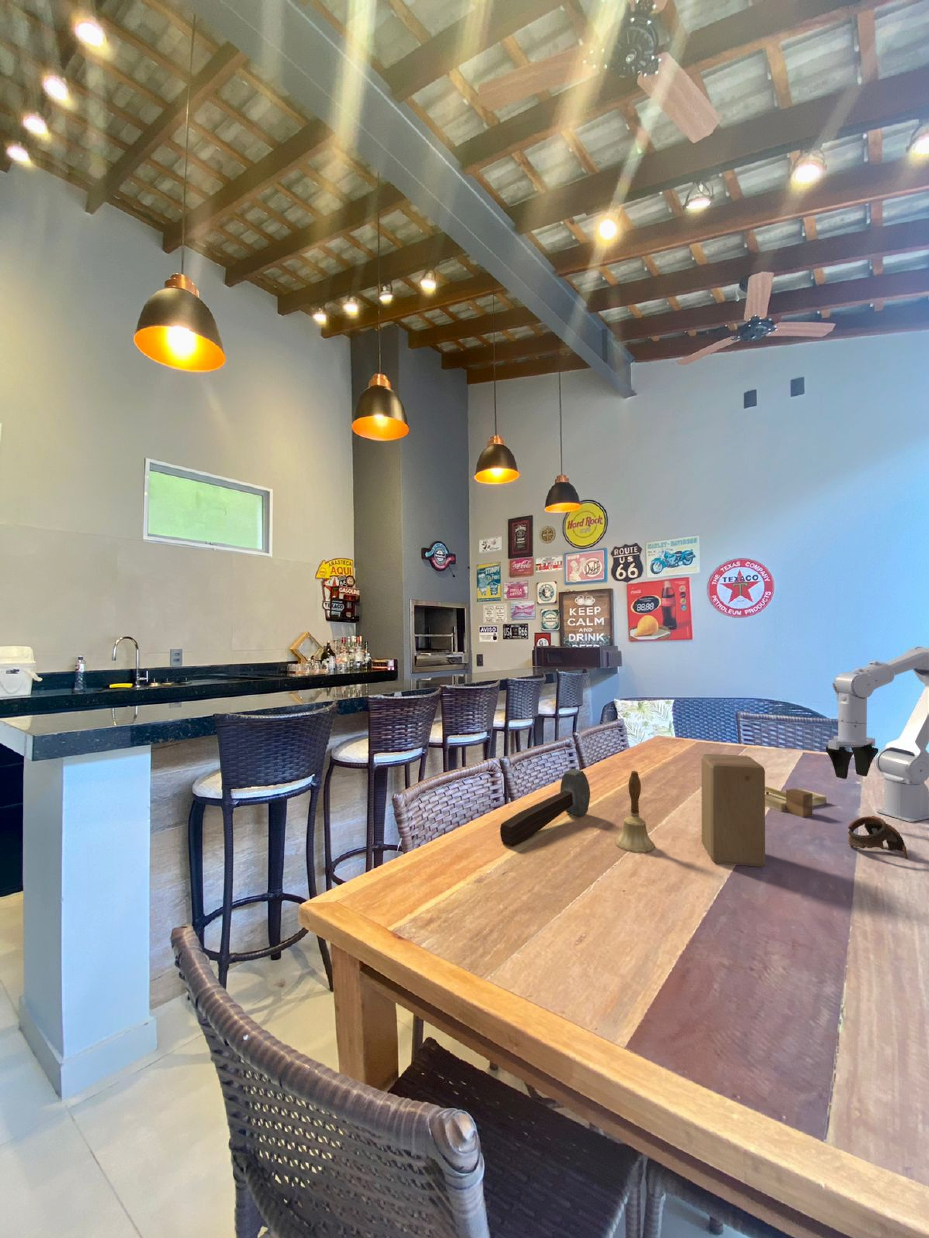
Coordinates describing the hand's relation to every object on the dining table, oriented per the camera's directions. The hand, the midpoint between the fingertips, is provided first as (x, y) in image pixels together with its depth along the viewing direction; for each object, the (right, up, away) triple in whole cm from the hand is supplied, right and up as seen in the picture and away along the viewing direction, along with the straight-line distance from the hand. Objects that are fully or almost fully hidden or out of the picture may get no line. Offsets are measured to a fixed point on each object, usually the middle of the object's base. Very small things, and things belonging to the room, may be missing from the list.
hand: (851, 776), depth 133 cm
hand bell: (-59, -10, -16) cm, 62 cm away
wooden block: (-40, -10, -22) cm, 47 cm away
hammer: (-76, -11, -6) cm, 77 cm away
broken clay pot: (-8, -11, -19) cm, 23 cm away
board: (-8, -11, +11) cm, 17 cm away
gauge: (-12, -10, +7) cm, 18 cm away
